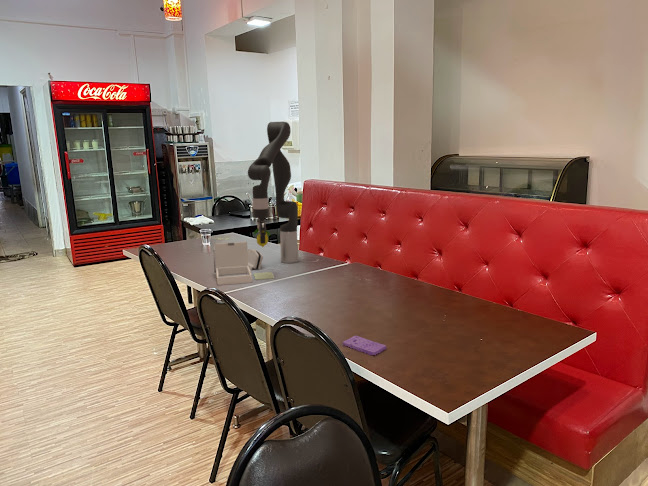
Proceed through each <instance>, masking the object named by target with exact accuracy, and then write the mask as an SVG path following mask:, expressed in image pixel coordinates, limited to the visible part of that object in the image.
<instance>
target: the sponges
mask: <svg viewBox="0 0 648 486" xmlns="http://www.w3.org/2000/svg"><path fill="white" fill-rule="evenodd" d="M343 345H345V346H344V347H346V346H348V347H347V348H349V347H350V348H349V349H352V348H353V349H352V350H355V349H356V350H355V351H358V352H360V351H361V352H360V353H363V352H364V353H363V354H366V353H367V354H366V355H369V356H372V355H375V356H377V355H379V354H380V353H382V352H384V351H385V350H386V349H387V345H385V344H381V343H379V342H375V341H373V340H370V339H367V338H364V337H361V336H360V335H359V336H358V335H353V336H352V337H350V338H348V339H346V340H344V341H342V346H343ZM378 353H379V354H378ZM376 354H377V355H376Z"/></svg>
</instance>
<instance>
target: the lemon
mask: <svg viewBox="0 0 648 486" xmlns="http://www.w3.org/2000/svg"><path fill="white" fill-rule="evenodd" d="M258 232H259V229H258V228H257V229H255V230H254V232H253V235H256V234H257V233H258ZM262 233H264V232H263V231H262ZM268 236H271V233H270V232H269V231H268V230H267V229H266V235H265V243H263V244H261V241H260V233H258V234H257V235H256V243H257V245H258V246H260V247H262V248H264V247H265V246H267V244H268V242H269V237H268Z"/></svg>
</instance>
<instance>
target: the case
mask: <svg viewBox="0 0 648 486" xmlns="http://www.w3.org/2000/svg"><path fill="white" fill-rule="evenodd" d="M212 250H213V251H212V252H213V255H212V256H213V268H214V269H213V270H214V271H213V272H214V273H215V274H216V282H217V283H216V284H217V286H223V285H224V286H225V285H234V284H235V285H239V284H248V283H249V284H251V283H253V275H252V274H253V273H252V270H250V269H249V266H248V251H247V250H248V242H247V241H241V242H223V243H222V242H221V243H220V242H219V243H214V249H212ZM242 274H244V275H242ZM229 275H230V276H229ZM250 282H251V283H250Z"/></svg>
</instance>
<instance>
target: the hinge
mask: <svg viewBox="0 0 648 486" xmlns="http://www.w3.org/2000/svg"><path fill="white" fill-rule="evenodd" d="M247 251H248V266H249V269H250V271H253V269H257V270H261V268H262V267H261V266H262V262H263V259H264V258H263V257H264V256H263V254H262V253H261V252H260V251H258V250H256V249H253V248H252V249H247Z"/></svg>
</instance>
